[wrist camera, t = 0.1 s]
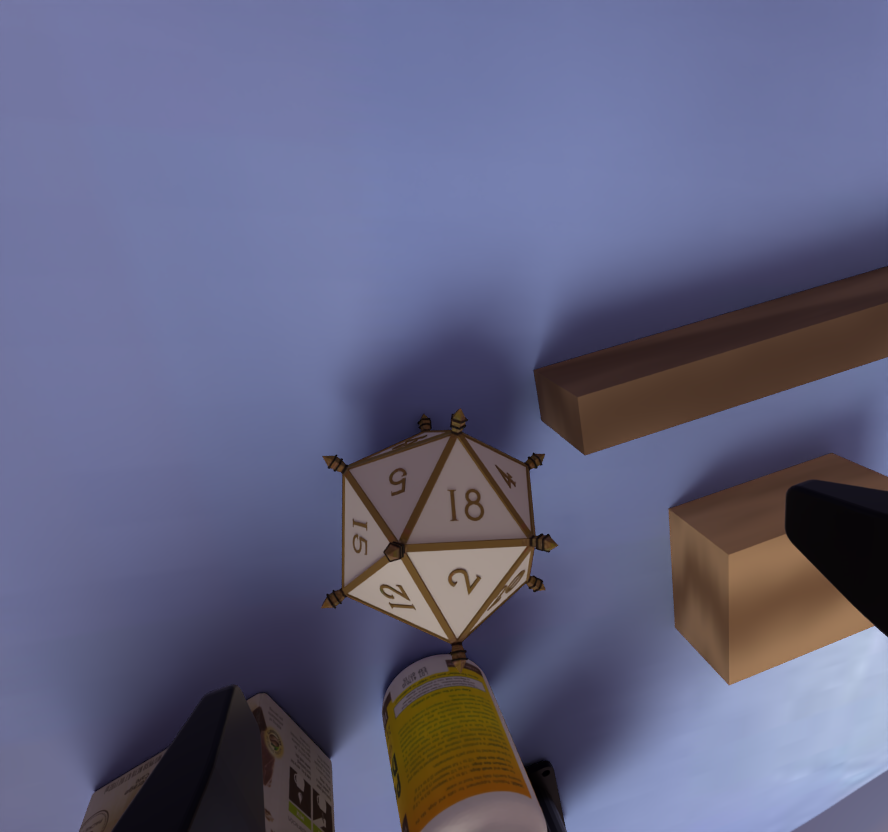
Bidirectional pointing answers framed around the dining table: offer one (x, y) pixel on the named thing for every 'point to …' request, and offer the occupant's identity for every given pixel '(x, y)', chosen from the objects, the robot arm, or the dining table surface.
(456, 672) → the supplement bottle
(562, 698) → the dining table surface
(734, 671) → the oak block
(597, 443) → the walnut board
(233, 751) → the robot arm
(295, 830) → the coffee box
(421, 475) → the game die
